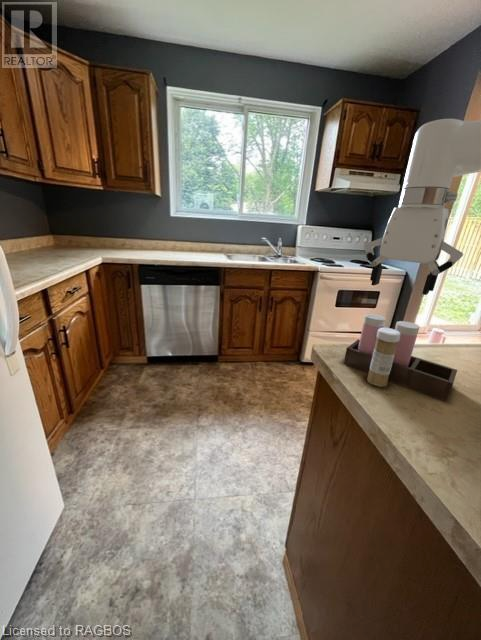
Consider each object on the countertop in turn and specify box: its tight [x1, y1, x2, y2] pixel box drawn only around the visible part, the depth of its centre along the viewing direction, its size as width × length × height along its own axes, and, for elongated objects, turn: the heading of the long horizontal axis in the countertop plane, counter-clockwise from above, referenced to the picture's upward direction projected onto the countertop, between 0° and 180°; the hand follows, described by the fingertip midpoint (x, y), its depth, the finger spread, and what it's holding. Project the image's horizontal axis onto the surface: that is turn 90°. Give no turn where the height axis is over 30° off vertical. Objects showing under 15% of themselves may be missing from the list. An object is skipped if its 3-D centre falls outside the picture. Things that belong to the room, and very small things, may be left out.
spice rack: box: [343, 338, 458, 402], centre depth 68 cm, size 23×8×5 cm, turn 47°
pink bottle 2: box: [393, 320, 420, 367], centre depth 67 cm, size 5×5×13 cm
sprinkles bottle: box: [366, 327, 401, 388], centre depth 63 cm, size 5×5×13 cm
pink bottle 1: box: [358, 313, 387, 355], centre depth 71 cm, size 5×5×13 cm
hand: (398, 288), depth 57 cm, fingers open, 9 cm apart
